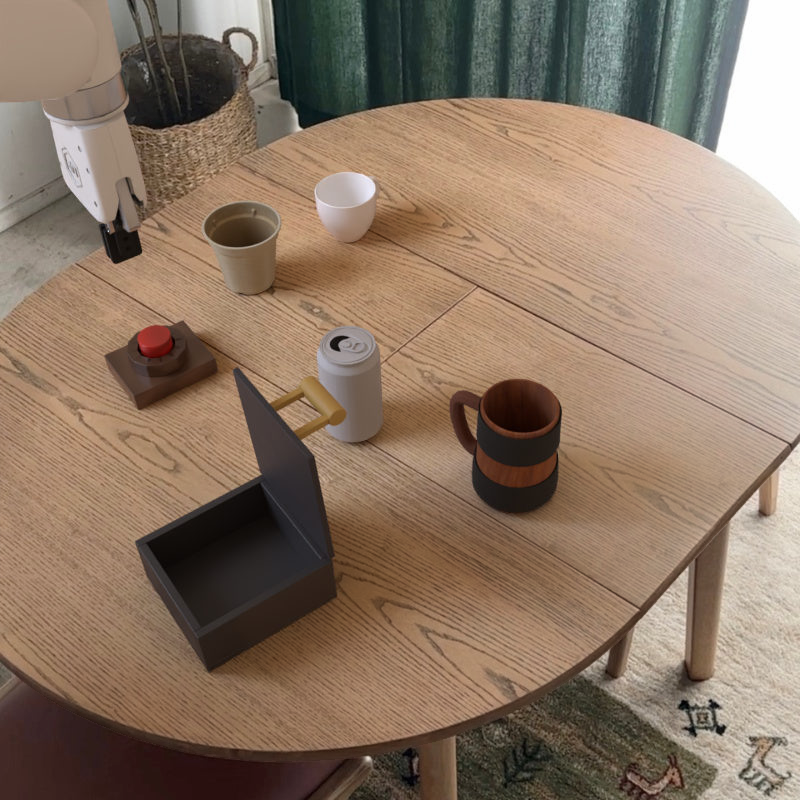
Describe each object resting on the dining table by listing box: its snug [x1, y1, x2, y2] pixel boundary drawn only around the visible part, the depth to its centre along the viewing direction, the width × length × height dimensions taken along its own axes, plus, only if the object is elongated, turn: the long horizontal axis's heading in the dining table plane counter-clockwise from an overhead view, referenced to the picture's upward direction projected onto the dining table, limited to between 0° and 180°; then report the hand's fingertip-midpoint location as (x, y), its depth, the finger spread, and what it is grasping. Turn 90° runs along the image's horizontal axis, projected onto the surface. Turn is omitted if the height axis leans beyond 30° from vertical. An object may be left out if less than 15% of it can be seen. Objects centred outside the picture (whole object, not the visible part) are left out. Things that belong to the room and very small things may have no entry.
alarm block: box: [103, 319, 219, 411], centre depth 119 cm, size 10×8×4 cm
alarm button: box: [138, 324, 173, 358], centre depth 118 cm, size 4×4×2 cm
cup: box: [314, 171, 381, 243], centre depth 136 cm, size 8×10×7 cm
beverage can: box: [316, 325, 384, 443], centre depth 110 cm, size 6×6×12 cm
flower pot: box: [201, 199, 283, 296], centre depth 128 cm, size 9×9×9 cm
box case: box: [134, 474, 338, 673], centre depth 98 cm, size 14×13×6 cm
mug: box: [448, 378, 563, 515], centre depth 104 cm, size 9×12×12 cm
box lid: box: [232, 366, 347, 560], centre depth 94 cm, size 14×13×6 cm
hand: (125, 255), depth 107 cm, fingers closed
